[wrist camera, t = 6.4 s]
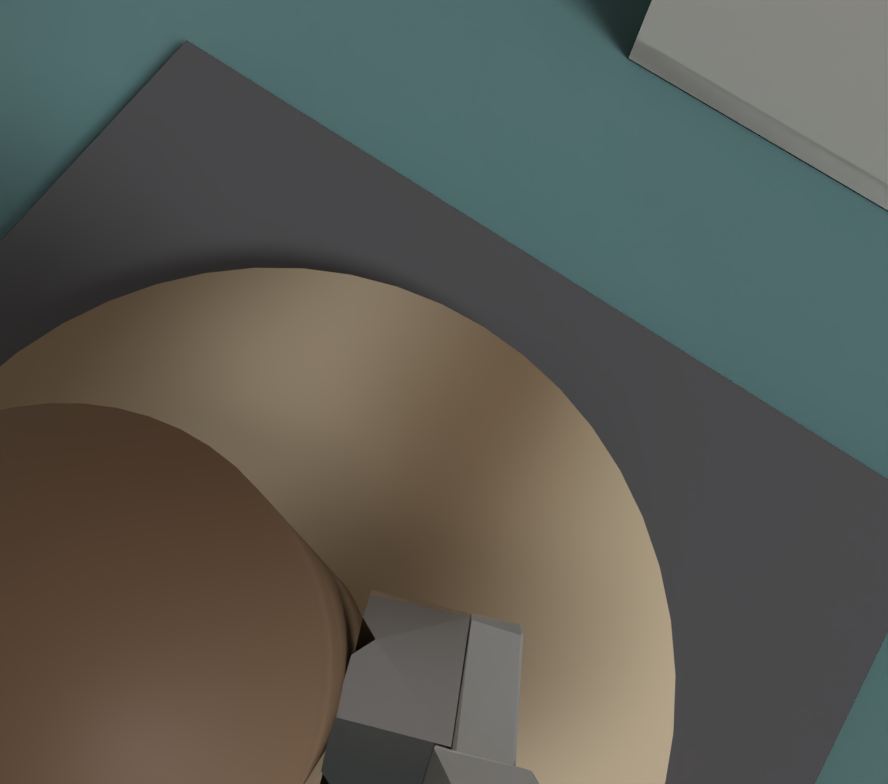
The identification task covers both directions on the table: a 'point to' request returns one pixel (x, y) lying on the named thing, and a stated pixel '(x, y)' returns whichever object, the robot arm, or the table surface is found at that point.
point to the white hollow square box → (785, 75)
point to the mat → (547, 347)
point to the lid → (302, 534)
